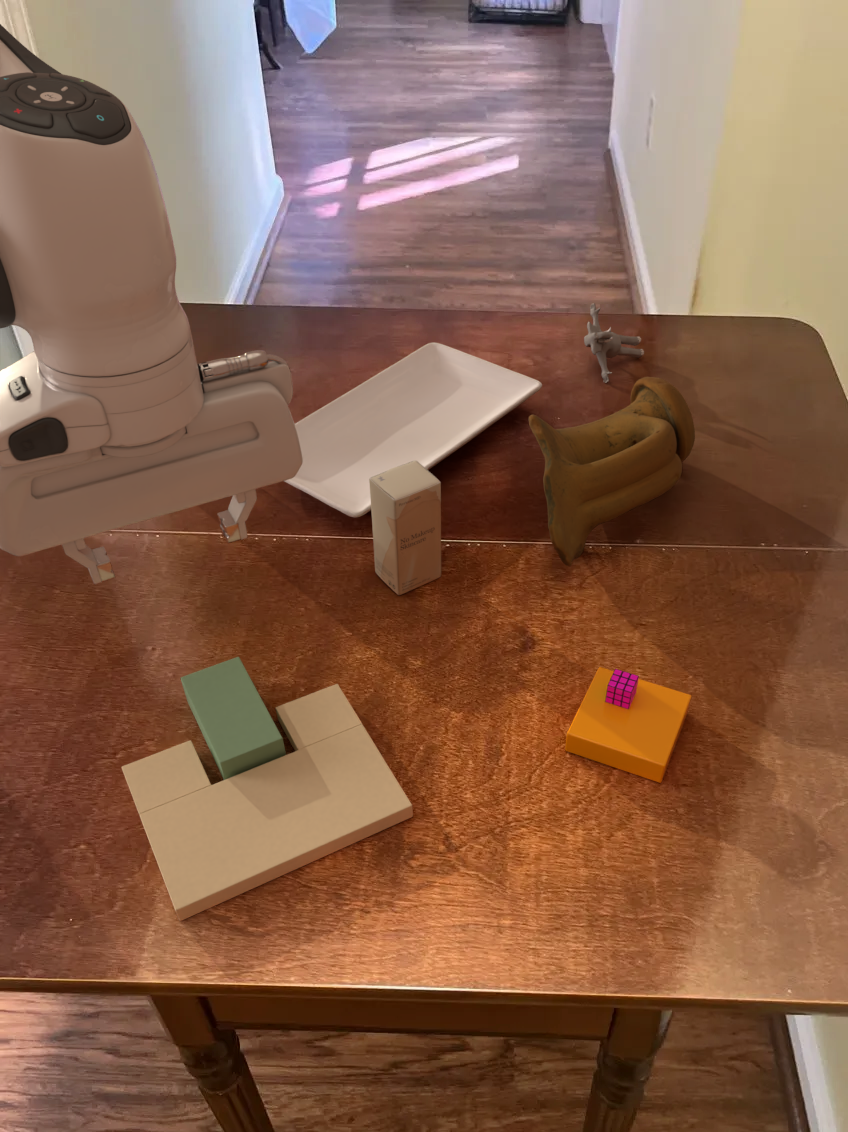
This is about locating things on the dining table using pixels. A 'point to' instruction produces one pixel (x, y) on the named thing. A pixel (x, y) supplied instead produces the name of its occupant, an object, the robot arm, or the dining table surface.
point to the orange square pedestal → (628, 723)
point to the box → (406, 526)
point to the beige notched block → (265, 805)
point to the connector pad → (232, 718)
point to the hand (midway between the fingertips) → (170, 556)
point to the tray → (402, 422)
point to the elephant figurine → (608, 343)
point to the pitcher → (612, 462)
